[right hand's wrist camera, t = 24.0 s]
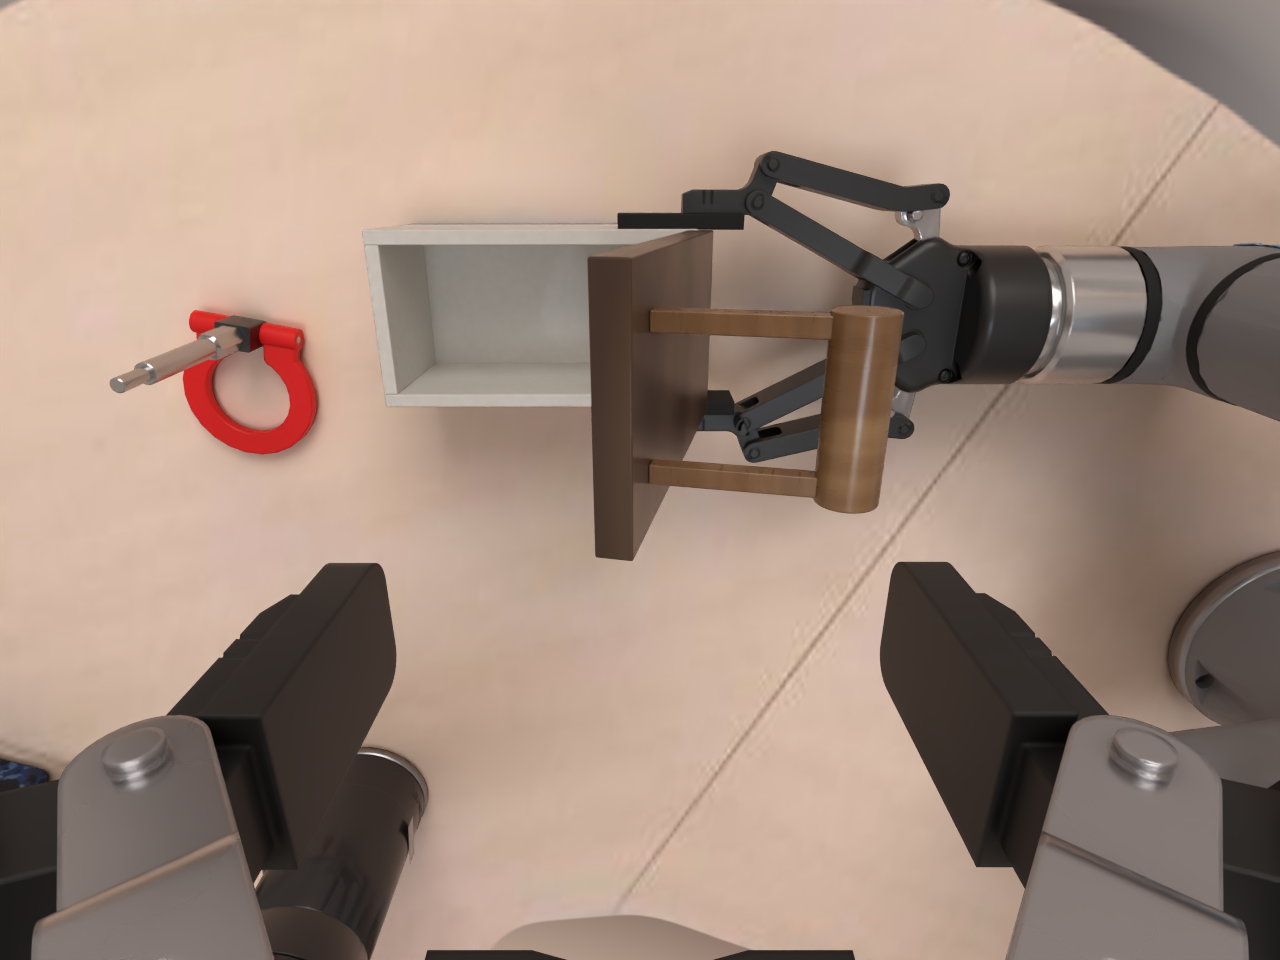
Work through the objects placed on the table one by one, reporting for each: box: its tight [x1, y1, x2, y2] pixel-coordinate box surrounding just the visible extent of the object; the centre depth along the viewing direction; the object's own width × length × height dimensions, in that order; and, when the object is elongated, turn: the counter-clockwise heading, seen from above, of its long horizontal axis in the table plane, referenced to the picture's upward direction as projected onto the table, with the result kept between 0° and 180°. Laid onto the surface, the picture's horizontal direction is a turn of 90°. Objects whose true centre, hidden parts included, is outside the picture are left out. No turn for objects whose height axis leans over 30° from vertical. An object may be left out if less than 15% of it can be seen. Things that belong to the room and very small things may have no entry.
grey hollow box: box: [362, 224, 698, 407], centre depth 41 cm, size 17×9×9 cm, turn 90°
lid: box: [587, 230, 904, 561], centre depth 28 cm, size 18×9×9 cm
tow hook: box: [110, 310, 317, 454], centre depth 42 cm, size 8×13×9 cm
